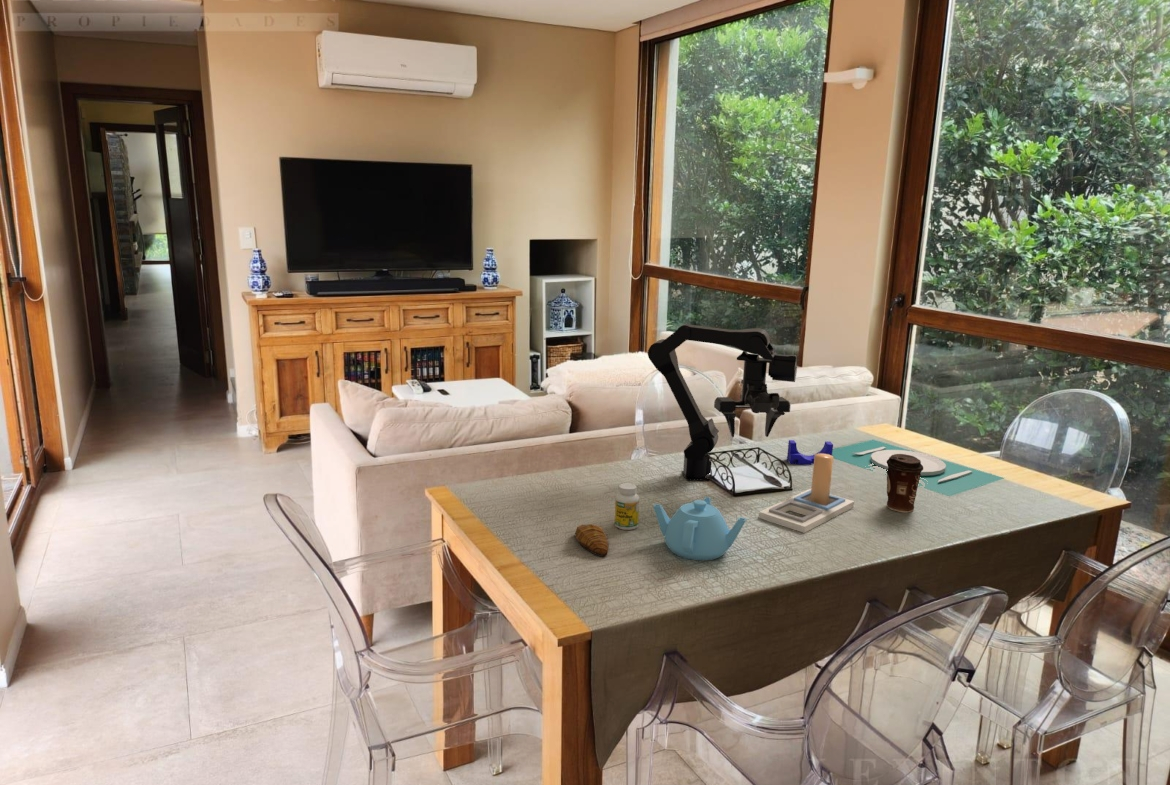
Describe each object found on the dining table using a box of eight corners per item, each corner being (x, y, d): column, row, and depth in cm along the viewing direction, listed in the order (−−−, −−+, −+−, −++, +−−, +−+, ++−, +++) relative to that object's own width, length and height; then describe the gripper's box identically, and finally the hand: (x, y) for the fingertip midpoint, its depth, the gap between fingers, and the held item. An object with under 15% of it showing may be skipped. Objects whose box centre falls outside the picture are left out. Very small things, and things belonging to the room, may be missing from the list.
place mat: (810, 455, 244) (811, 448, 244) (872, 440, 262) (872, 433, 261) (950, 502, 209) (951, 493, 209) (1011, 481, 227) (1012, 473, 226)
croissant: (564, 536, 179) (565, 514, 178) (592, 532, 182) (593, 511, 181) (589, 561, 167) (589, 538, 166) (618, 556, 170) (619, 534, 169)
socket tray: (804, 532, 184) (805, 524, 184) (758, 517, 192) (759, 509, 192) (853, 506, 201) (854, 498, 201) (809, 493, 209) (810, 486, 209)
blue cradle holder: (790, 464, 233) (792, 444, 232) (786, 459, 237) (788, 440, 236) (832, 466, 233) (834, 446, 231) (828, 461, 237) (830, 441, 236)
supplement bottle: (640, 523, 187) (642, 483, 185) (634, 532, 182) (636, 491, 180) (618, 520, 188) (619, 480, 186) (611, 528, 183) (613, 488, 181)
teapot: (647, 540, 178) (650, 493, 176) (706, 530, 184) (709, 485, 182) (683, 569, 165) (686, 519, 162) (745, 557, 171) (749, 509, 168)
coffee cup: (874, 507, 202) (880, 457, 198) (888, 499, 207) (894, 450, 204) (909, 517, 196) (916, 465, 193) (923, 508, 202) (929, 458, 199)
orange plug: (818, 510, 198) (823, 459, 195) (805, 504, 202) (810, 454, 199) (831, 508, 200) (837, 457, 197) (819, 502, 204) (824, 452, 201)
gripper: (728, 385, 200) (724, 446, 203) (801, 385, 202) (795, 445, 206) (715, 375, 210) (711, 433, 214) (784, 375, 213) (779, 433, 217)
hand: (749, 436), depth 212 cm, fingers open, 9 cm apart
